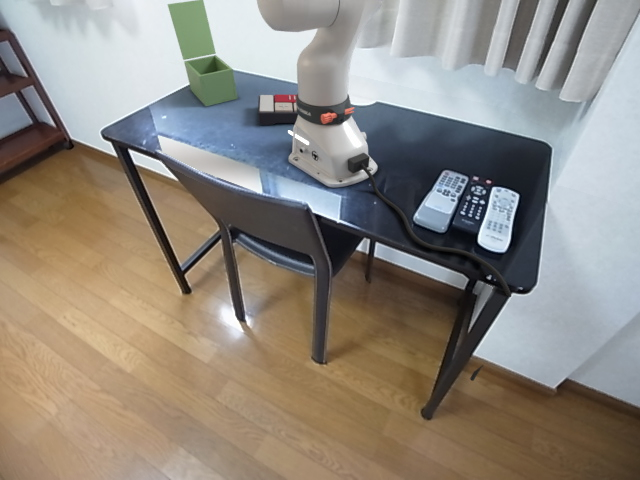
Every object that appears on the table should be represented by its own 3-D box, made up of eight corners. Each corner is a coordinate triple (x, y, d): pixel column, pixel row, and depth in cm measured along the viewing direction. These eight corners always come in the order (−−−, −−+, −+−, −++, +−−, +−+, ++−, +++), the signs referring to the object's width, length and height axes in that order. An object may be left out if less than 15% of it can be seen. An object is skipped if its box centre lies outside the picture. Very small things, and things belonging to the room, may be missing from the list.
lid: (203, -1, 107) (202, -1, 108) (168, 4, 103) (167, 4, 104) (215, 53, 115) (215, 53, 116) (183, 59, 112) (183, 59, 112)
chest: (237, 98, 114) (232, 69, 108) (205, 106, 110) (199, 76, 104) (221, 83, 122) (215, 55, 116) (191, 90, 118) (183, 61, 112)
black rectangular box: (313, 110, 100) (257, 110, 99) (313, 125, 103) (258, 125, 102) (310, 93, 108) (258, 92, 107) (310, 107, 111) (259, 107, 110)
